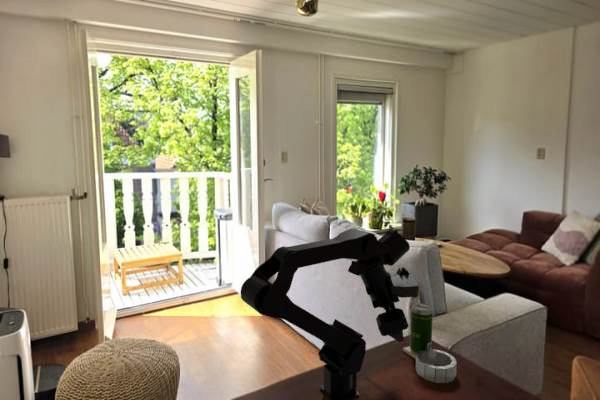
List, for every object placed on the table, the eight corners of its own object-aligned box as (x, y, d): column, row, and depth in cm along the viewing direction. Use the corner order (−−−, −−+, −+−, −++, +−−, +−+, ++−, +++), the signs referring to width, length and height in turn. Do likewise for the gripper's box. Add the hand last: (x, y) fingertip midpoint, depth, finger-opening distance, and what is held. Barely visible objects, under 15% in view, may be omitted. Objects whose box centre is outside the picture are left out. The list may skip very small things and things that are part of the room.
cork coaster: (419, 362, 105) (419, 359, 105) (402, 350, 111) (403, 347, 110) (439, 356, 107) (439, 353, 107) (422, 345, 113) (422, 342, 113)
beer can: (433, 349, 110) (435, 305, 108) (427, 358, 105) (429, 312, 103) (413, 344, 112) (414, 301, 111) (407, 352, 108) (408, 308, 106)
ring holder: (434, 386, 94) (435, 372, 94) (408, 367, 102) (408, 354, 102) (463, 377, 98) (464, 363, 98) (436, 359, 106) (436, 346, 106)
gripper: (420, 290, 84) (441, 344, 90) (399, 244, 101) (419, 292, 107) (368, 308, 86) (393, 360, 92) (357, 260, 103) (378, 306, 109)
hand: (397, 327), depth 100 cm, fingers open, 9 cm apart
